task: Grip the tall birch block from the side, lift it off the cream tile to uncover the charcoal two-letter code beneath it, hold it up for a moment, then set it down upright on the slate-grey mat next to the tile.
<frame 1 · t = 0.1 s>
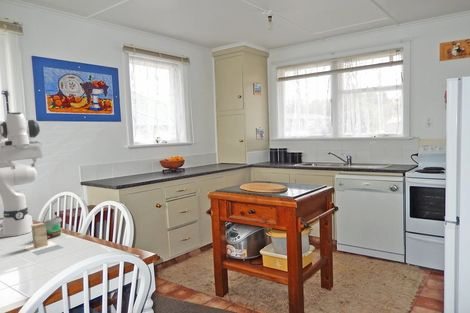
hand: (23, 168, 181), 39 cm above the table, tool pointing down, fingers open, 8 cm apart
code board: (44, 248, 168), on the table
food container: (55, 237, 187), on the table
birch block: (40, 245, 172), resting on code board
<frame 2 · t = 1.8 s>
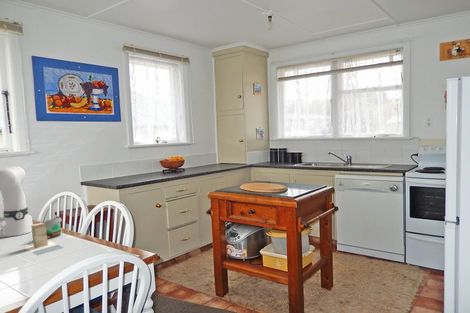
hand: (6, 220, 161), 16 cm above the table, tool horizontal, fingers open, 8 cm apart
nothing on the table moved.
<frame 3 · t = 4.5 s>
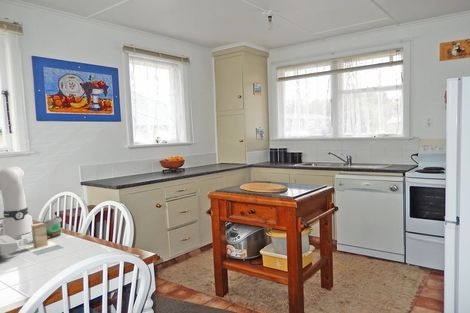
hand: (24, 238, 166), 6 cm above the table, tool horizontal, fingers open, 8 cm apart
nothing on the table moved.
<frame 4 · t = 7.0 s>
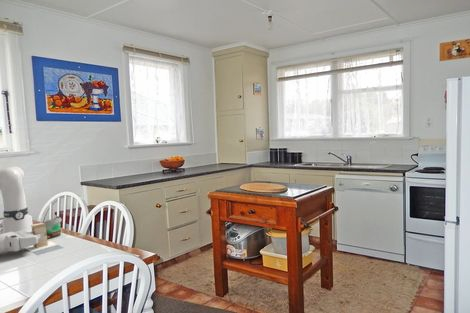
hand: (41, 233, 172), 6 cm above the table, tool horizontal, fingers closed on birch block, 5 cm apart
birch block: (40, 245, 172), resting on code board, touching gripper
everything else where it was.
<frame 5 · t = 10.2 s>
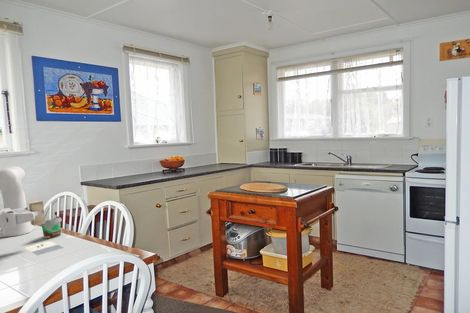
hand: (38, 211, 171), 18 cm above the table, tool horizontal, fingers closed on birch block, 5 cm apart
birch block: (38, 223, 170), point 12 cm above the table, touching gripper
everything else where it was.
when the fingers open (7 cm above the table, at t = 13.9 s): birch block drops 1 cm, resting on code board.
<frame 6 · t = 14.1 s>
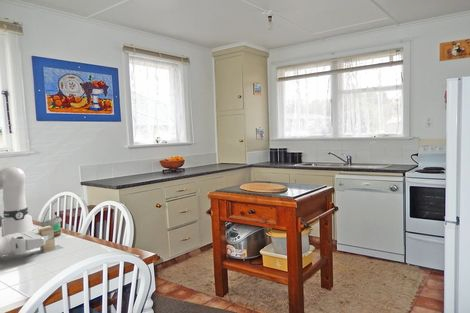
hand: (48, 234, 165), 7 cm above the table, tool horizontal, fingers open, 7 cm apart
birch block: (48, 249, 165), resting on code board
everything else where it was.
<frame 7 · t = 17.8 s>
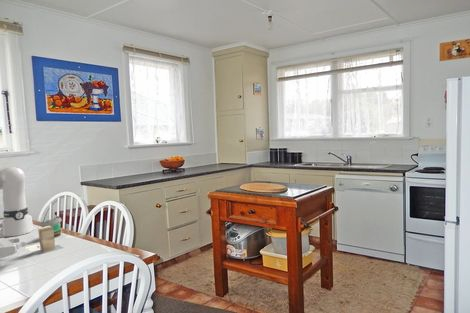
hand: (22, 241, 157), 7 cm above the table, tool horizontal, fingers open, 8 cm apart
nothing on the table moved.
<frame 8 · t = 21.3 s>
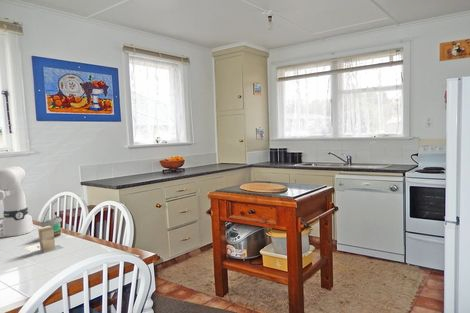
hand: (10, 191, 162), 30 cm above the table, tool horizontal, fingers open, 8 cm apart
nothing on the table moved.
at the end: birch block inside the target area (0.1 cm from its centre), resting on code board; birch block tilted 0°; the gripper is holding nothing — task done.
